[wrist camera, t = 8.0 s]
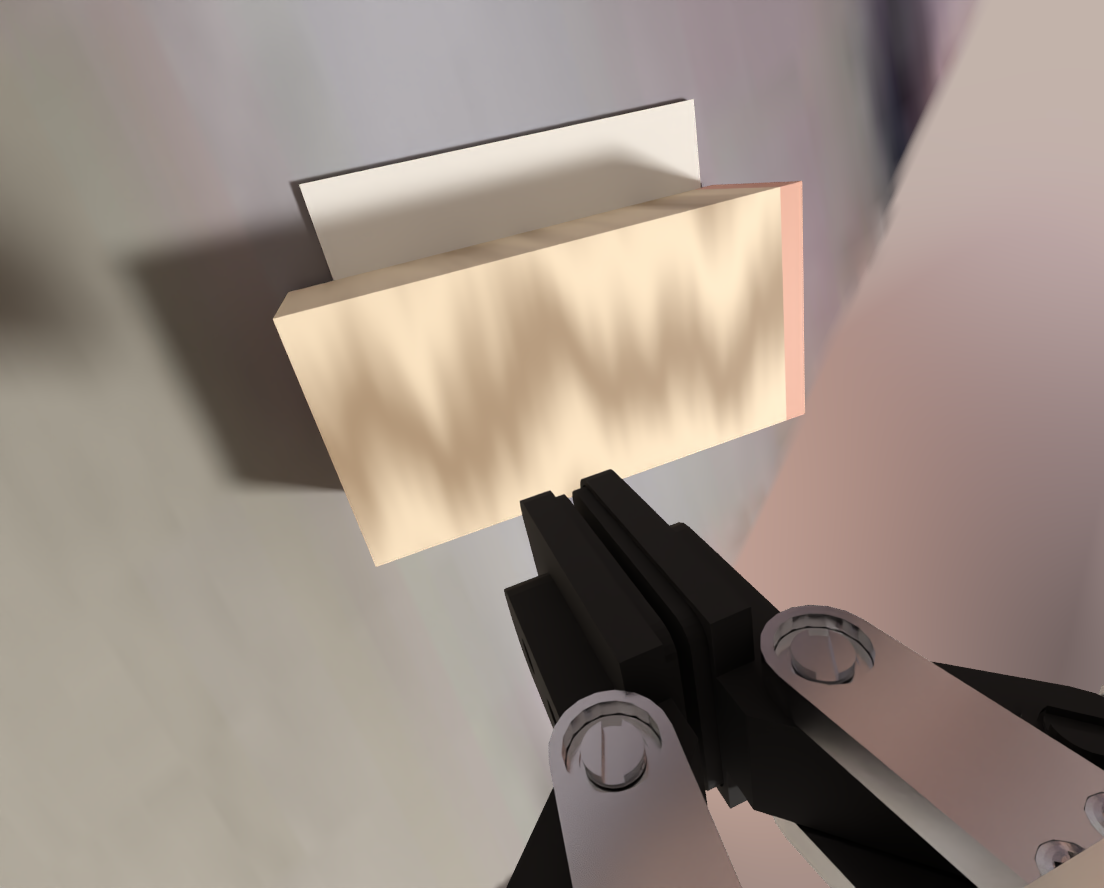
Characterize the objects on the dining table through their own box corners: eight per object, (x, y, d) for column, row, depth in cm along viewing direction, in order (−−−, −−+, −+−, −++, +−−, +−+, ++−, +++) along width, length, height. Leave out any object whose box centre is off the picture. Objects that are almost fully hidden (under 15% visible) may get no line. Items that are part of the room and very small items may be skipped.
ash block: (272, 318, 15) (802, 181, 18) (288, 292, 19) (712, 184, 23) (375, 566, 18) (804, 413, 22) (369, 496, 23) (726, 377, 26)
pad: (299, 184, 19) (298, 184, 18) (689, 100, 21) (693, 99, 21) (427, 541, 25) (428, 545, 24) (717, 438, 28) (721, 440, 27)
